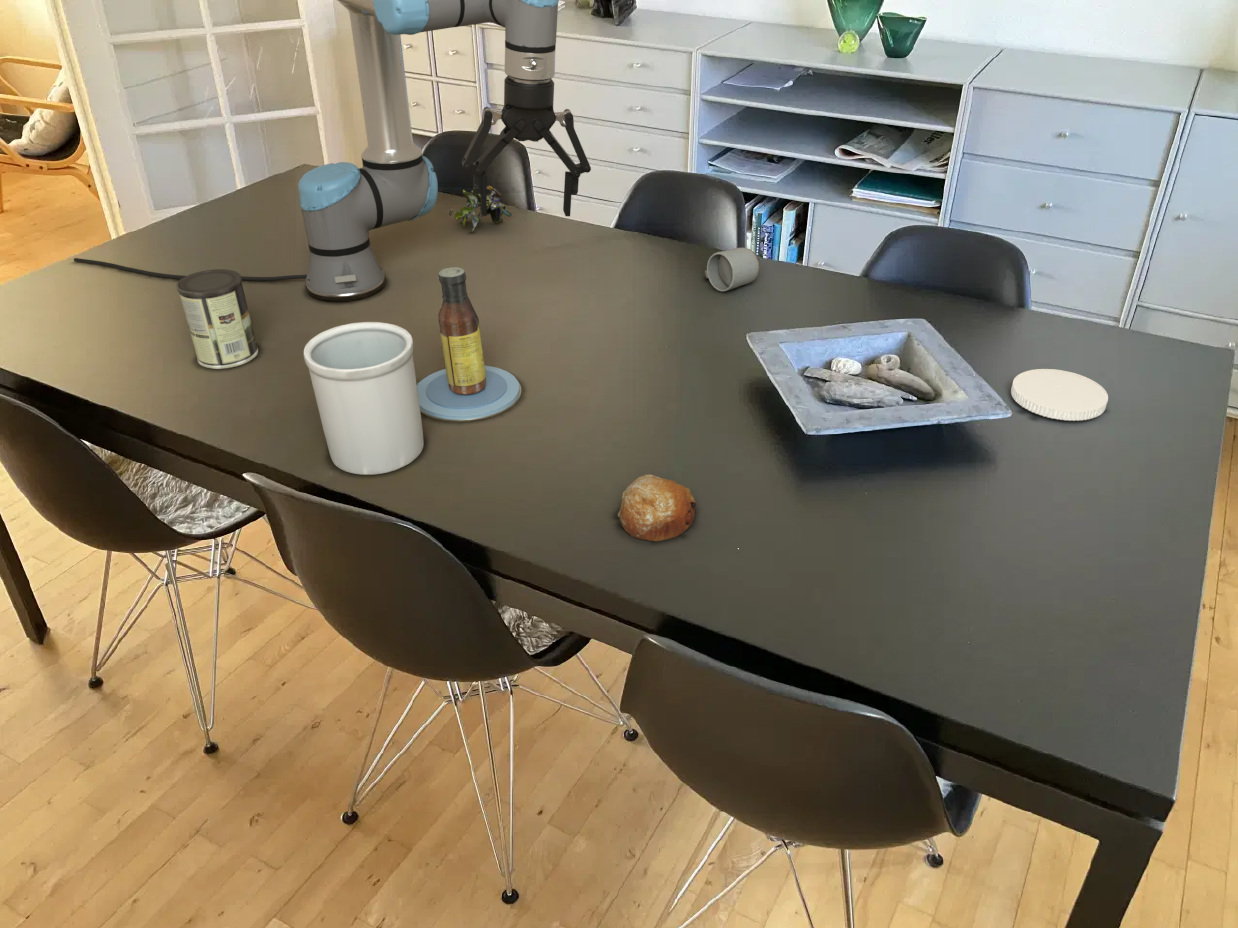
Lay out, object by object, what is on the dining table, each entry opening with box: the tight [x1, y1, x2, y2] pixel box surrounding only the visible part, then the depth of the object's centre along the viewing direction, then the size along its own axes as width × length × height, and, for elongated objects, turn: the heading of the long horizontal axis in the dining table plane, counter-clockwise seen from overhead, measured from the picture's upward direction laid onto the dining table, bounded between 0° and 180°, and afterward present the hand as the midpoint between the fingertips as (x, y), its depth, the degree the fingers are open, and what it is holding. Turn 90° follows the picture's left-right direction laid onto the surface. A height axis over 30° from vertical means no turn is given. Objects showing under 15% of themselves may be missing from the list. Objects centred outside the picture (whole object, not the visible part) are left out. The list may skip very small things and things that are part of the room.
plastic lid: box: [1010, 368, 1109, 422], centre depth 156 cm, size 14×14×2 cm
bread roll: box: [617, 473, 697, 542], centre depth 130 cm, size 10×10×8 cm
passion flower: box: [448, 185, 513, 234], centre depth 224 cm, size 11×11×12 cm
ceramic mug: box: [704, 247, 760, 293], centre depth 196 cm, size 11×8×8 cm
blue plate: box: [417, 365, 523, 423], centre depth 160 cm, size 18×18×1 cm
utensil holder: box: [303, 321, 425, 476], centre depth 142 cm, size 15×15×18 cm
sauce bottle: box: [437, 266, 486, 395], centre depth 154 cm, size 7×6×20 cm
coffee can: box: [175, 268, 259, 370], centre depth 169 cm, size 10×10×14 cm
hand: (525, 213), depth 161 cm, fingers open, 13 cm apart
